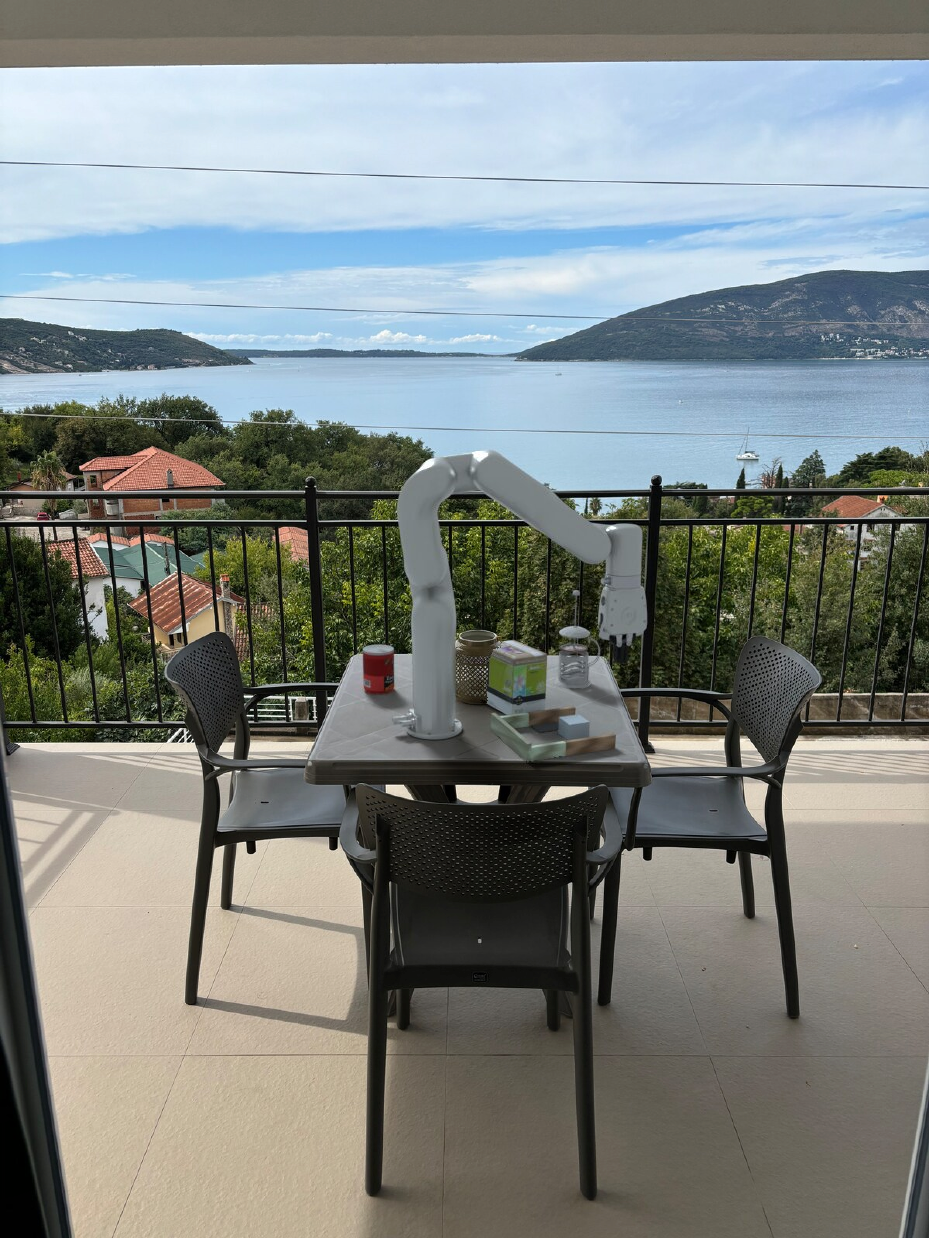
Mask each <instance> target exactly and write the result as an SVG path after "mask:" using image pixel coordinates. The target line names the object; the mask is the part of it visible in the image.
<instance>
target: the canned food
mask: <svg viewBox="0 0 929 1238" xmlns="http://www.w3.org/2000/svg"><path fill="white" fill-rule="evenodd" d="M362 670H363V672H362V673H363V674H362V677H363V678H362V679H363V690H364V691H365V692H366V693H368V694H372V695H383V694H384V695H385V694H389V693H392V692H393V691H394V690H395V648H394V647H393V646H391V645H387V644H371V645H367V646H364V647H363V648H362Z"/></svg>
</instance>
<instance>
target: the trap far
mask: <svg viewBox="0 0 929 1238" xmlns="http://www.w3.org/2000/svg"><path fill="white" fill-rule="evenodd" d="M530 727H531V728H532V729H534V730H535V731H536V732H537V733H539V734H542V733H543V734H544V733H547V732H549V733H550V732H556V731H558V729H559V723H558V724H557V722H556V723H555V722H549V723H542V724H534V725H531V726H530Z"/></svg>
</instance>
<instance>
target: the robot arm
mask: <svg viewBox="0 0 929 1238" xmlns="http://www.w3.org/2000/svg"><path fill="white" fill-rule="evenodd" d="M475 491H480V492H482V493H483V494H484V495H486V496H487V497H489V498H491V499H492V500H493V501H495V502H497V503H498V504H499V505H501V506H503V507H504V508H505V509H506V510H508V511H509V512H511V513H512V514H513V515H515V516H516V517H518V518H519V519H521V521H523V522H524V523H527V524H528V525H529V527H532V528H533V529H535V530H537V531H539V532H540V533H541V534H543V535H544V536H546V537H548V538H549V539H551V540H552V541H553V542H555V544H558V546H561V548H563V549H565V550H566V551H567V552H569V553H570V554H572V555H573V556H574V557H576V558H577V559H579V560H581V561H582V562H583V563H586V564H589V565H597V564H600V563H602V562H604V561H605V574H604V577H602V578H601V579H600V584H601V585H604V587H603V588H602V591H601V595H600V600H599V605H598V618H597V622H598V623H597V625H598V626H597V627H598V630H599V633H598V638H600V639H601V640H606V641H609V642H610V643H611V645H612V658H613V661H614V662H616V663H617V664H619V665H622V664H627V663H628V658H629V647H630V646H631V645H632V641H634V640H635V638H636V637H639V636H642V635H643V634H644V632H645V630H646V629H647V625H648V611H647V610H648V609H647V607H648V606H647V598H646V597H647V596H646V592H645V588H644V587H645V586H642V585H641V580H642V558H643V557H642V551H643V549H642V548H643V529H642V528H641V526H640V525H638V524H633V523H616V524H605V523H604V524H603V523H595V522H590V521H589V520H588V519H587V518H585V517H584V516H582V515H581V514H579V513H578V512H576V511H575V510H574V509H573V508H571V507H570V506H569V505H567V504H566V503H565V502H564V501H563V500H562V499H561V498H559V496H558V495H557V494H555V492H553V491H552V490H551V489H549V488H548V486H546V485H544V484H543V483H541V482H540V481H538V480H537V479H536V478H534V477H533V476H531V475H530V474H529V473H527V472H526V471H524V470H523V469H521V468H520V467H519V466H517V465H516V464H514V463H513V462H511V461H510V460H508V459H507V458H506V457H504V456H503V455H502V454H501V453H499V452H498V451H495V450H491V449H485V450H479V451H473V452H472V451H471V452H466V453H461V454H460V453H459V454H453V455H452V454H451V455H445V456H444V455H443V456H437V457H432V458H429V459H427V460H425V462H423V463H422V464H421V465H420V467H419V469H417V470H416V471H415V472H414V473H413V474H412V475H411V476H410V477H408V479H407V480H406V481H405V483H404V484H403V486H402V488H401V489H400V491H399V492H400V493H399V495H398V499H397V506H396V508H397V510H396V511H397V513H396V514H397V522H398V529H399V534H400V536H399V537H400V543H401V550H402V556H403V567H404V572H405V575H406V577H407V578H408V582H409V590H410V593H411V599H412V609H411V616H410V617H411V621H410V625H411V626H410V627H411V629H410V630H411V658H412V659H411V661H412V662H411V665H412V708H409V709H408V713H405V715H395V716H391V723H392V725H393V726H398V725H400V727H401V728H405V730H406V732H407V733H408V734H409V735H410V736H411V737H414V738H417V739H422V740H444V739H449V738H452V737H456V736H457V735H459V734H460V733H461V732H462V730H463V725H462V722H461V721H460V720H459V719H457V718H456V638H457V637H456V635H457V634H456V631H457V611H456V603H455V596H454V595H455V594H454V590H453V589H454V588H453V583H452V579H451V571H450V570H451V569H450V566H449V560H448V559H449V558H448V553H447V551H446V549H445V547H444V546H443V544H442V538H441V537H442V536H441V531H440V523H439V516H438V510H439V508H440V505H441V503H443V502H444V500H446V499H448V498H449V497H450V496H451V495H455V494H463V493H468V492H475Z"/></svg>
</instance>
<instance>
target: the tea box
mask: <svg viewBox="0 0 929 1238" xmlns="http://www.w3.org/2000/svg"><path fill="white" fill-rule="evenodd" d="M499 642H500V643H501V642H502V643H501V648H500V646H498V647H499V648H498V649H497V648H496V649H493V652H492V654H491V657H490V660H489V665H488V680H487V697H488V698H487V700H488V701H487V703H486V704H487V705H488V706H490V707H492V708H494V709H495V710H498V711H499V712H501V713H503V714H504V715H513V714H520V713H527V712H535V711H542V710H546V699H547V698H546V696H547V695H546V694H547V675H548V674H547V672H548V671H547V668H548V653H545V652H543V651H541V650H539V649H536V648H534V647H531V646H528V645H527V644H524V643H522V642H519V641H516V640H515V639H512V640H510V639H509V640H504V641H499Z"/></svg>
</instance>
